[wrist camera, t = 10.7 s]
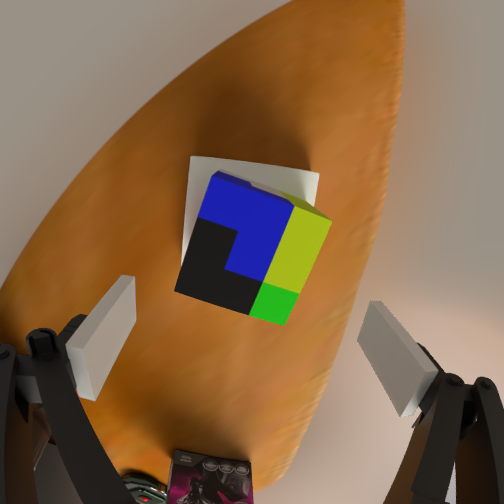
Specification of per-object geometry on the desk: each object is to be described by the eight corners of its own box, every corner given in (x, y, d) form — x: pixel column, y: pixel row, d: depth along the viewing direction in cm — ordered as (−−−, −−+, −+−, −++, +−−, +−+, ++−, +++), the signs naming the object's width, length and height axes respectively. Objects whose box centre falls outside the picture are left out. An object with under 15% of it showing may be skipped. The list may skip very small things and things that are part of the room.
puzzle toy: (219, 168, 31) (211, 175, 22) (306, 201, 33) (332, 221, 24) (190, 252, 34) (173, 291, 25) (272, 280, 36) (284, 325, 26)
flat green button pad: (154, 503, 63) (152, 515, 59) (104, 478, 59) (101, 490, 54) (192, 494, 60) (191, 507, 56) (138, 467, 56) (134, 481, 51)
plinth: (185, 265, 39) (180, 277, 35) (195, 155, 35) (190, 156, 31) (292, 277, 40) (297, 290, 36) (311, 171, 36) (319, 173, 32)
